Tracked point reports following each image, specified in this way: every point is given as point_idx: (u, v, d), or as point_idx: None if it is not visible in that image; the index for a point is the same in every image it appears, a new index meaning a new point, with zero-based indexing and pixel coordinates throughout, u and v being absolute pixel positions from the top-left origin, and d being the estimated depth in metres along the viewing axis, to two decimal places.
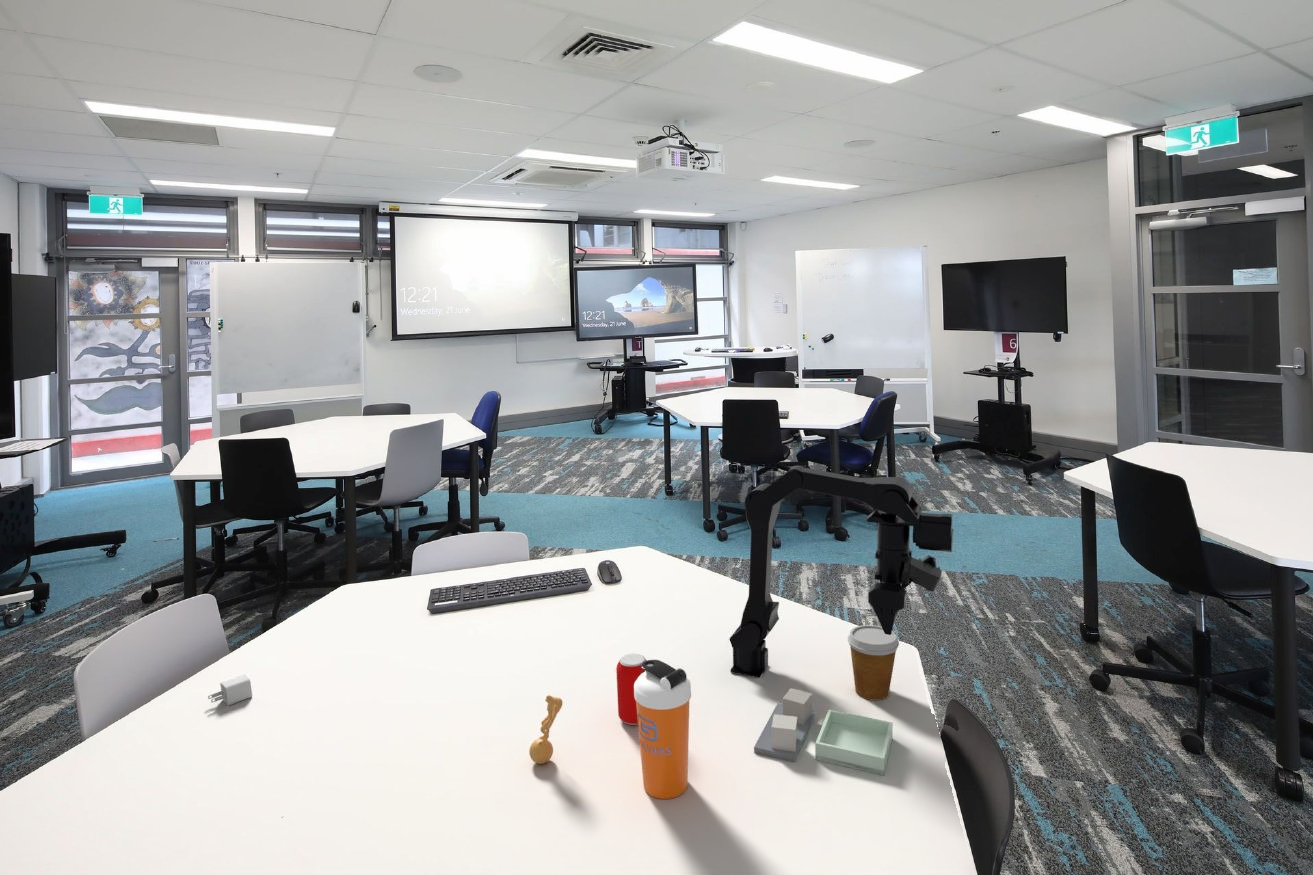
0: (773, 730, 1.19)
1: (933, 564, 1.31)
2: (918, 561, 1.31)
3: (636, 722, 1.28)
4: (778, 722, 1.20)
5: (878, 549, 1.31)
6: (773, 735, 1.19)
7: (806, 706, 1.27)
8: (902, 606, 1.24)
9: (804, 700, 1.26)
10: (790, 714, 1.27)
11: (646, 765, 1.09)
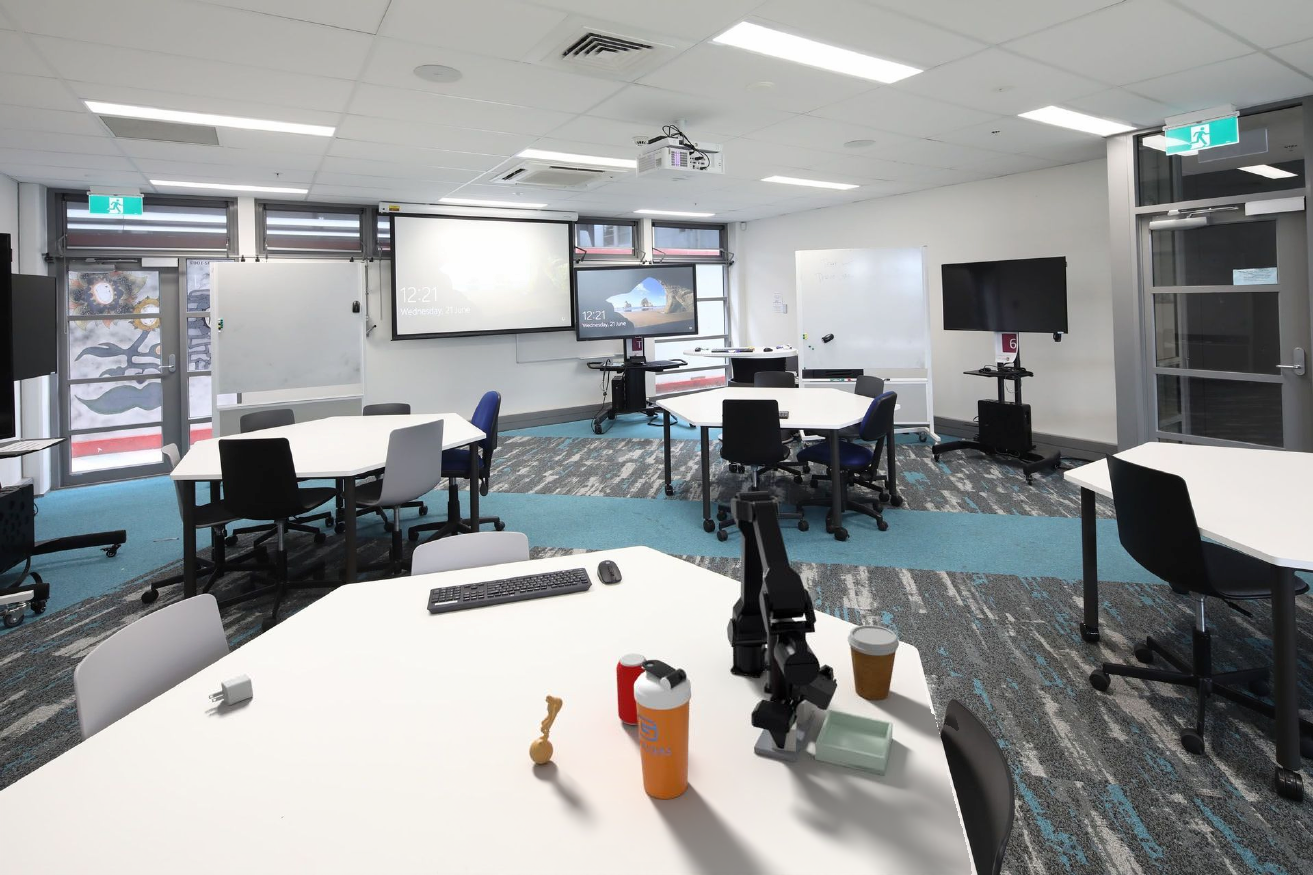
0: None
1: (829, 676, 1.18)
2: None
3: (636, 722, 1.28)
4: None
5: (767, 659, 1.18)
6: None
7: (806, 706, 1.27)
8: (787, 731, 1.10)
9: (804, 700, 1.26)
10: None
11: (646, 765, 1.09)
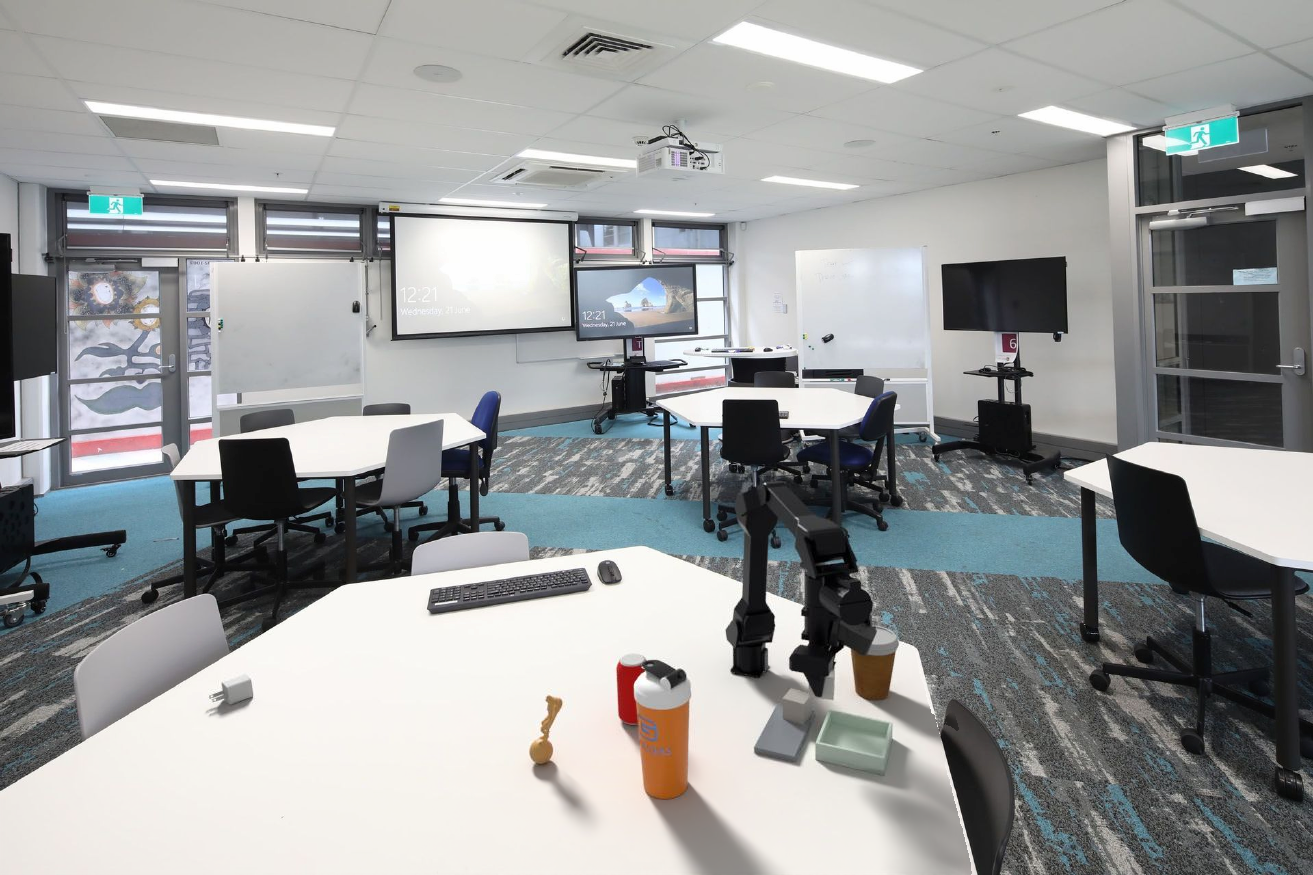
0: None
1: (868, 623, 1.15)
2: None
3: (636, 722, 1.28)
4: None
5: (805, 605, 1.15)
6: None
7: (806, 706, 1.27)
8: (826, 674, 1.07)
9: (804, 700, 1.26)
10: (790, 714, 1.27)
11: (646, 765, 1.09)
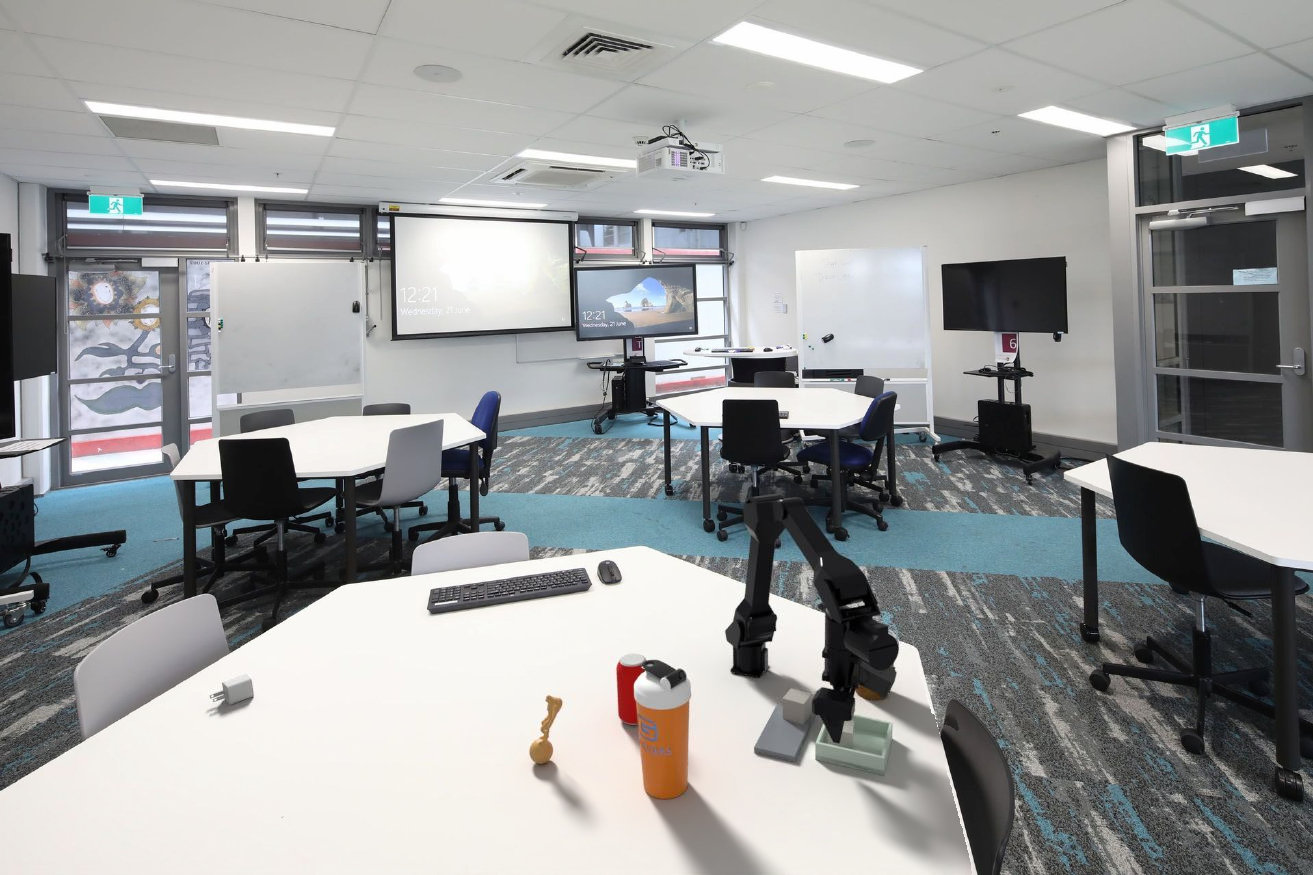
0: None
1: None
2: None
3: (636, 722, 1.28)
4: None
5: (825, 647, 1.16)
6: (829, 738, 1.18)
7: (806, 706, 1.27)
8: (849, 719, 1.09)
9: (804, 700, 1.26)
10: (790, 714, 1.27)
11: (646, 765, 1.09)
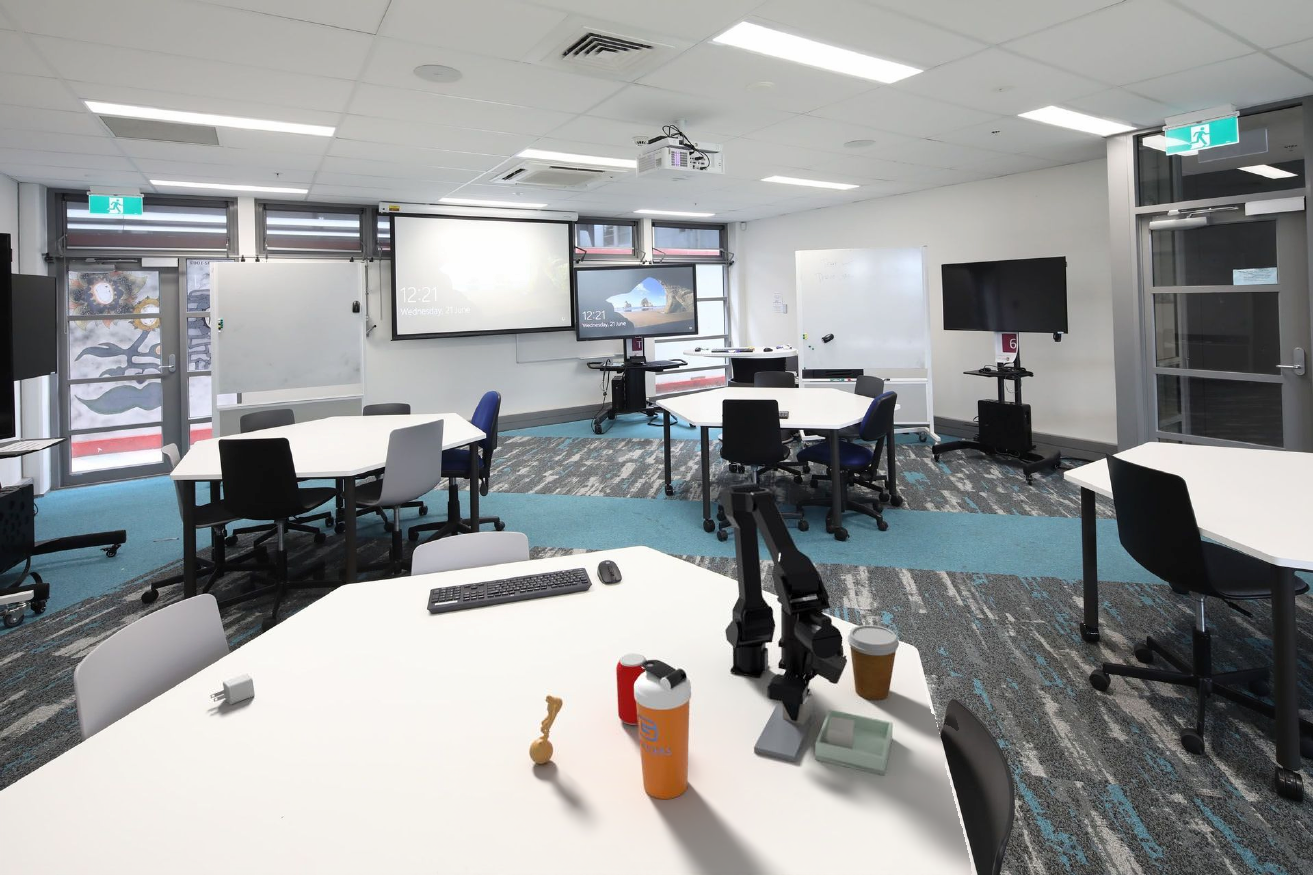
0: (829, 733, 1.18)
1: (839, 652, 1.26)
2: None
3: (636, 722, 1.28)
4: (835, 724, 1.19)
5: (782, 637, 1.26)
6: (829, 738, 1.18)
7: (806, 706, 1.27)
8: (800, 702, 1.18)
9: (804, 700, 1.26)
10: None
11: (646, 765, 1.09)
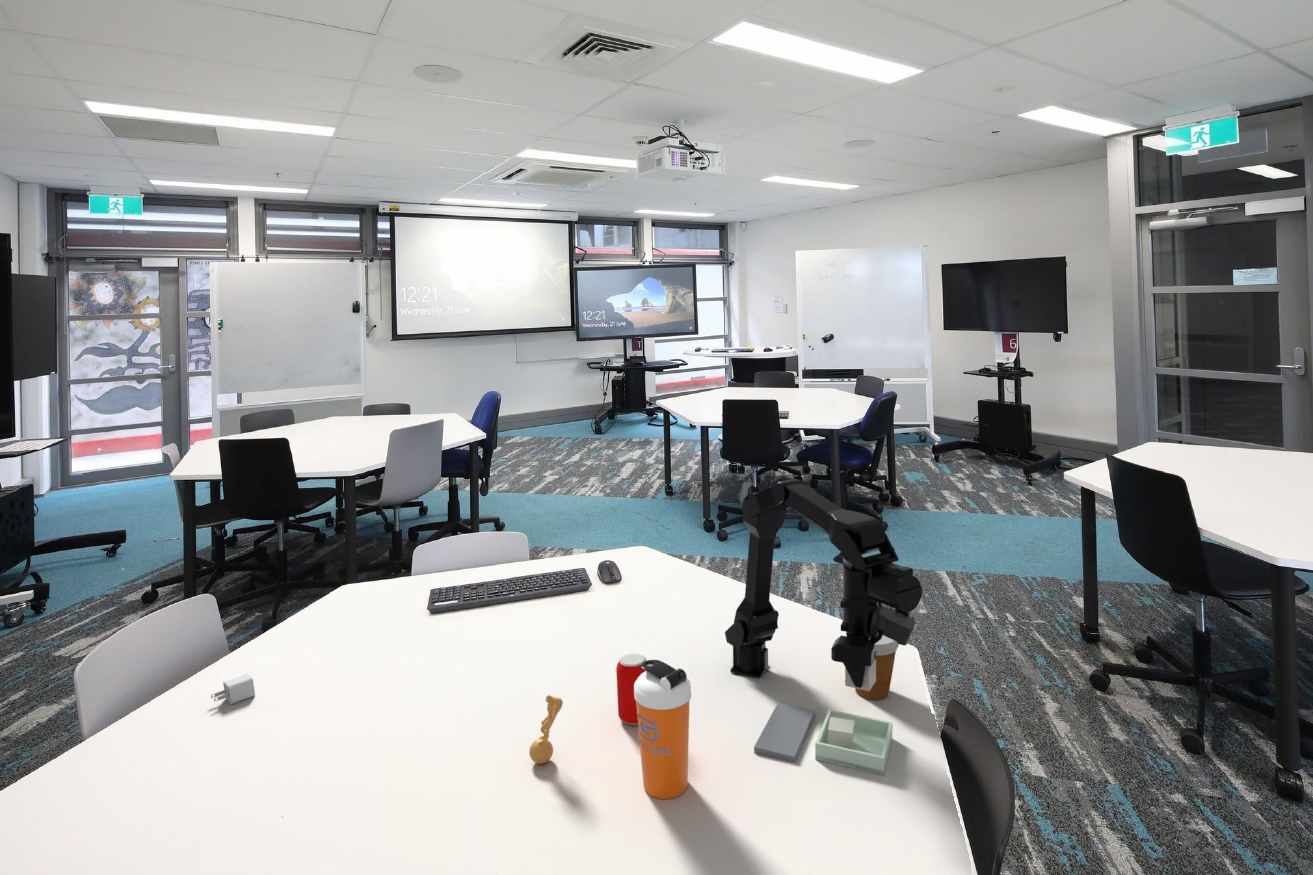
0: (829, 733, 1.18)
1: (906, 613, 1.17)
2: (889, 610, 1.17)
3: (636, 722, 1.28)
4: (835, 724, 1.19)
5: (844, 597, 1.17)
6: (829, 738, 1.18)
7: (871, 671, 1.18)
8: (869, 664, 1.09)
9: None
10: None
11: (646, 765, 1.09)
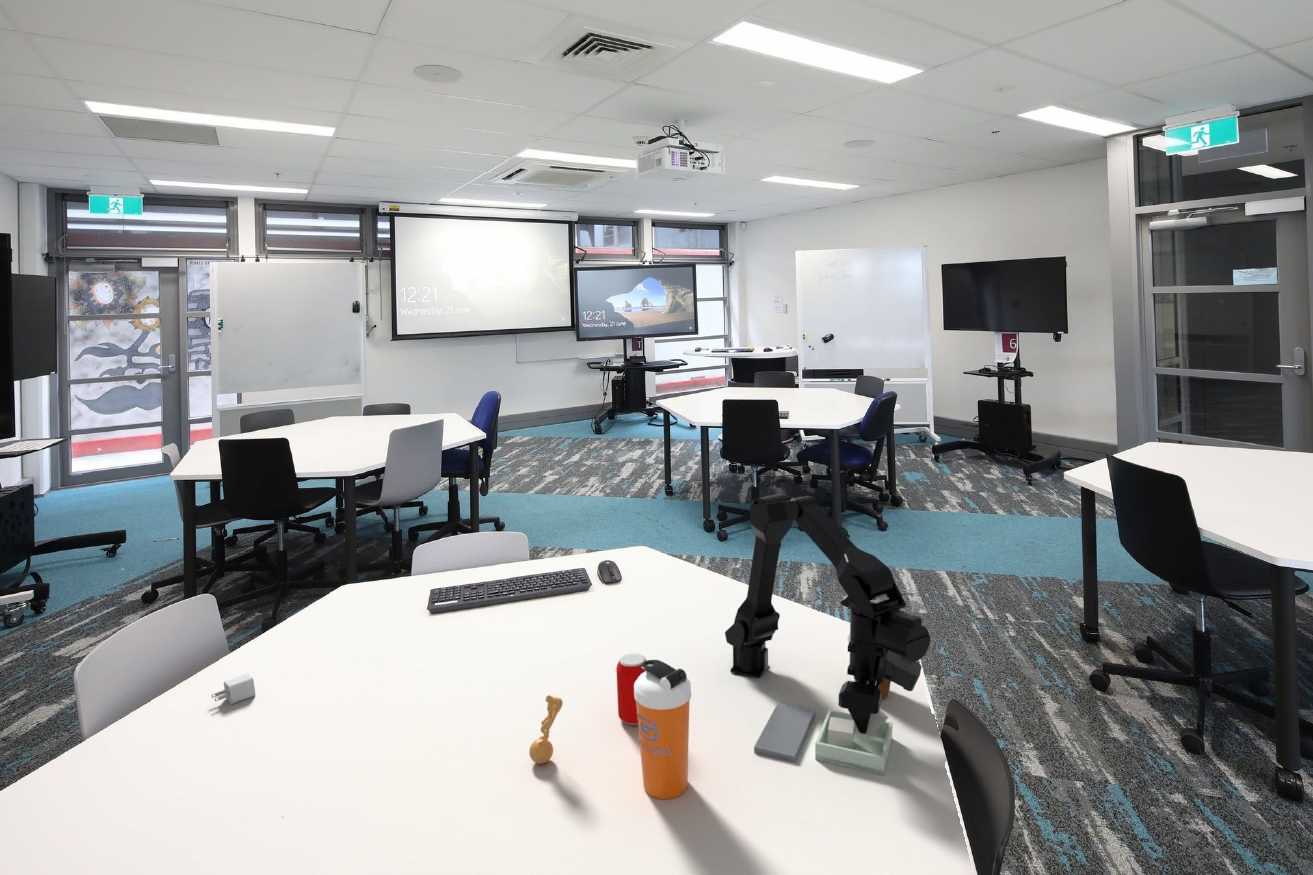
0: (830, 733, 1.18)
1: None
2: (895, 654, 1.18)
3: (636, 722, 1.28)
4: (835, 724, 1.19)
5: (851, 641, 1.18)
6: (829, 738, 1.18)
7: (882, 723, 1.19)
8: (876, 711, 1.10)
9: (885, 717, 1.19)
10: None
11: (646, 765, 1.09)
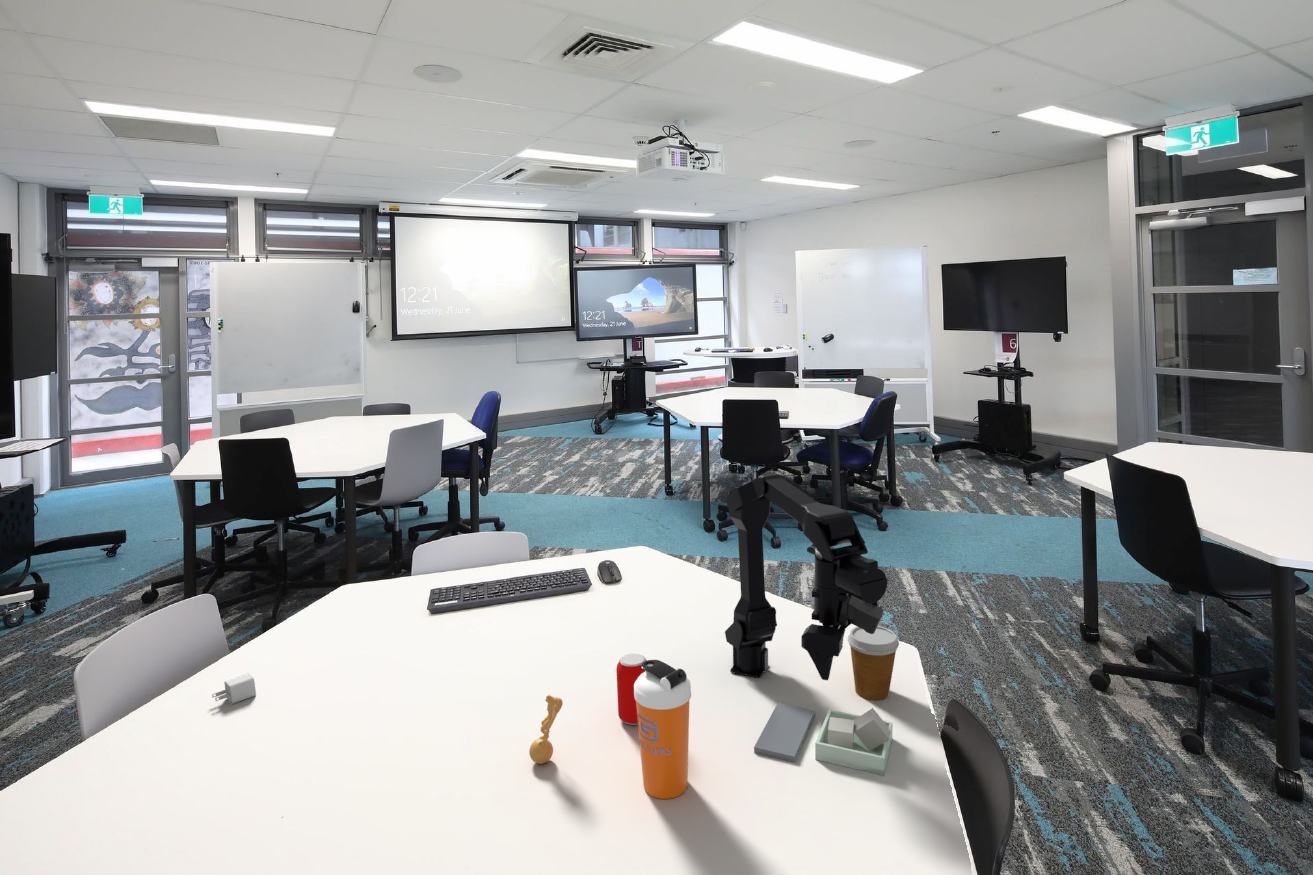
0: (829, 733, 1.18)
1: (875, 603, 1.21)
2: (858, 600, 1.21)
3: (636, 722, 1.28)
4: (834, 724, 1.19)
5: (815, 587, 1.21)
6: (829, 738, 1.18)
7: None
8: (837, 651, 1.13)
9: (887, 733, 1.18)
10: (866, 735, 1.18)
11: (646, 765, 1.09)
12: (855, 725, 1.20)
